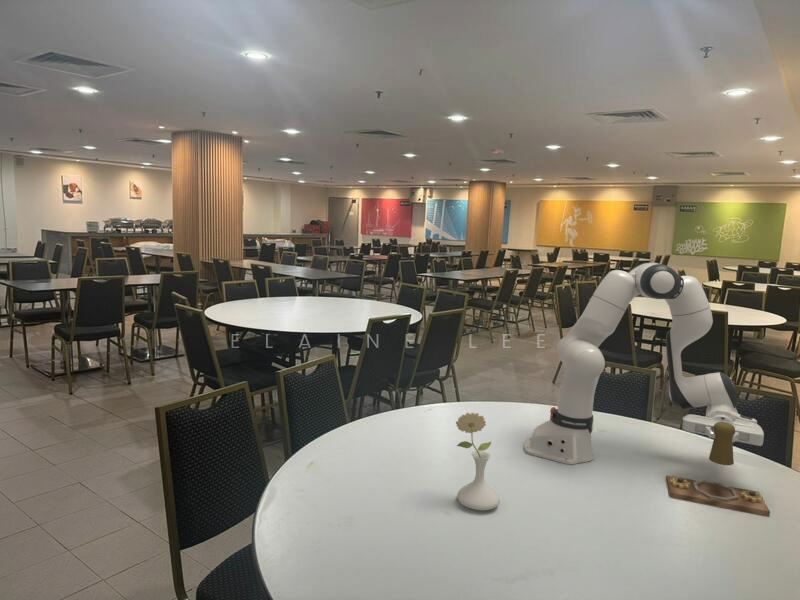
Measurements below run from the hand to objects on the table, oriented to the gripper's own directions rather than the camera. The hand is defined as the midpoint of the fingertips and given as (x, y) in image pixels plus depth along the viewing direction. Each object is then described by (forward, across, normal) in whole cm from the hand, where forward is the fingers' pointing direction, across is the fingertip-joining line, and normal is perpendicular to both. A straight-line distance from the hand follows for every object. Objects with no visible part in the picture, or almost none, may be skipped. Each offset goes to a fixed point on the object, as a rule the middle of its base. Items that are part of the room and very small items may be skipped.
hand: (721, 437), depth 151 cm
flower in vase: (+42, -55, +18) cm, 72 cm away
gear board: (-1, 0, +18) cm, 18 cm away
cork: (-1, +1, +7) cm, 7 cm away
